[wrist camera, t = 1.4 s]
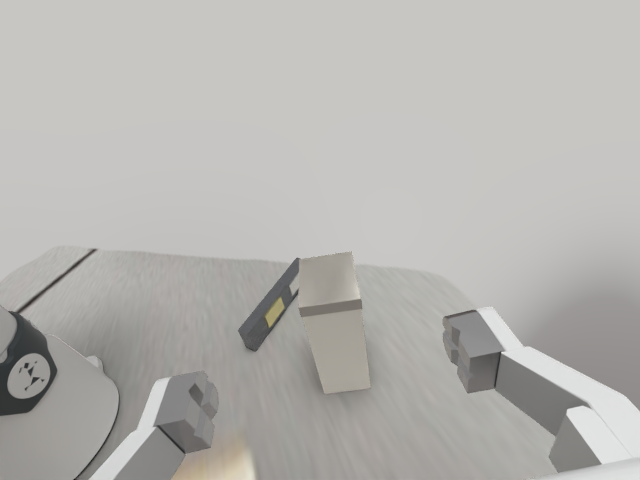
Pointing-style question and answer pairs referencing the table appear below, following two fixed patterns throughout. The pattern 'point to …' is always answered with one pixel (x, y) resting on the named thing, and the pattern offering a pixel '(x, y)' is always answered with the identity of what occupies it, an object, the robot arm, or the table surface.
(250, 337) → the rail
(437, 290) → the table surface
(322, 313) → the carton
